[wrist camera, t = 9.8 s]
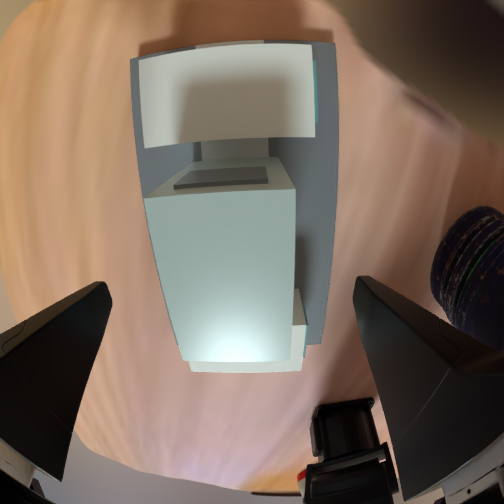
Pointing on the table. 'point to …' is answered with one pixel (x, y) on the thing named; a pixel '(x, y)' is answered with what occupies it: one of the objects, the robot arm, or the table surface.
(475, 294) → the storage jar
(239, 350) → the block
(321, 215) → the board
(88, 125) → the table surface
